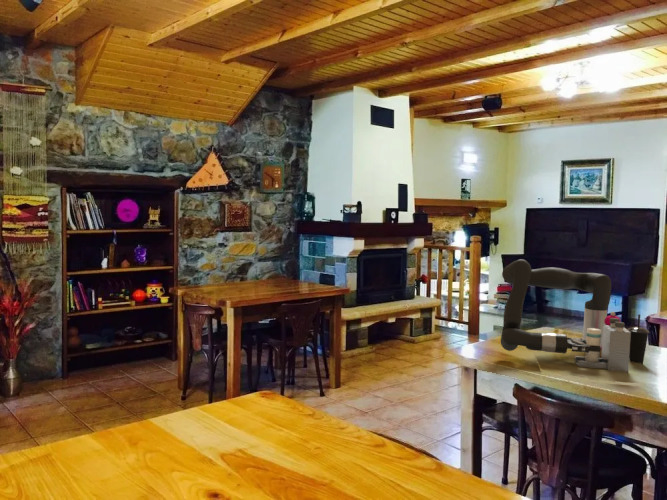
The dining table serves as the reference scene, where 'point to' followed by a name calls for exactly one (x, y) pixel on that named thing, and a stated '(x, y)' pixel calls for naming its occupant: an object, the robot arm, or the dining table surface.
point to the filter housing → (611, 351)
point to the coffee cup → (593, 339)
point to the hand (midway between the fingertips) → (597, 346)
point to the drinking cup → (638, 343)
